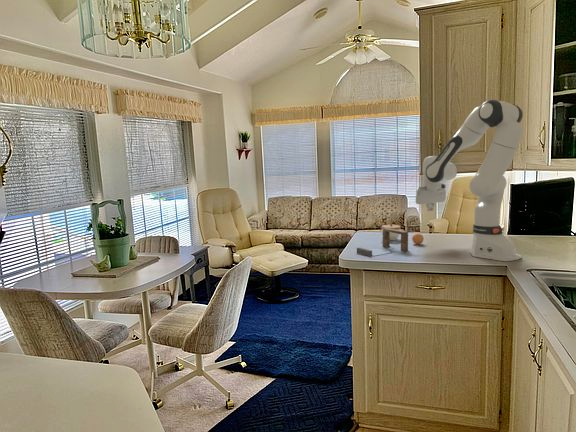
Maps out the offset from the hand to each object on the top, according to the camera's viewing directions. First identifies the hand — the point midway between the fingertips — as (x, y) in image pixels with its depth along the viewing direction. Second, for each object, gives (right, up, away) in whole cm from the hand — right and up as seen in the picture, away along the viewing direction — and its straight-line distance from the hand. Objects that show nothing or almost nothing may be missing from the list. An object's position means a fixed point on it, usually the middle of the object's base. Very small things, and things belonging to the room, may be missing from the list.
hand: (430, 211), depth 238 cm
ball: (-8, -15, -3) cm, 17 cm away
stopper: (-40, -22, -22) cm, 50 cm away
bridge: (-22, -20, -11) cm, 32 cm away
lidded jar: (-19, -16, +12) cm, 27 cm away
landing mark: (-34, -21, -18) cm, 44 cm away
